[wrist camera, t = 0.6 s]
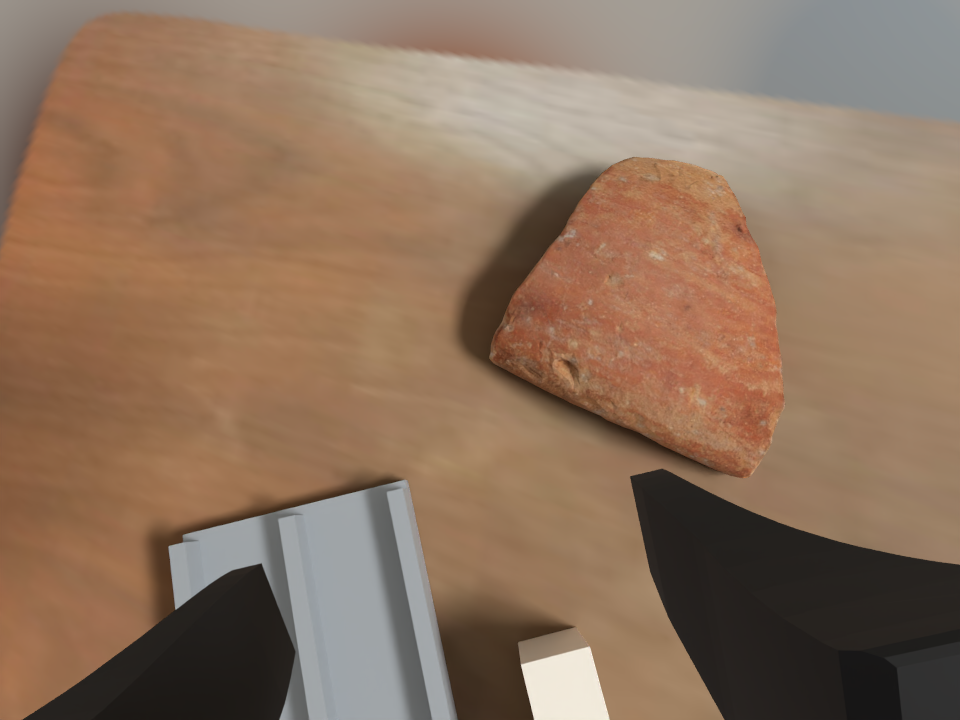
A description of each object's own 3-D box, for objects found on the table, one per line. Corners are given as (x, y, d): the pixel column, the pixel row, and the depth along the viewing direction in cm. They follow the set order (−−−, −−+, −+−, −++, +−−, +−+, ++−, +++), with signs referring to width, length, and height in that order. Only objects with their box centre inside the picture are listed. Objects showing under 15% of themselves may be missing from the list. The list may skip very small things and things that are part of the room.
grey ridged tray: (478, 819, 29) (477, 847, 27) (234, 884, 29) (209, 918, 26) (407, 481, 33) (400, 478, 30) (192, 534, 33) (167, 535, 30)
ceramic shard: (888, 216, 30) (759, 493, 30) (814, 247, 37) (706, 475, 36) (619, 82, 31) (482, 354, 30) (592, 137, 37) (479, 361, 36)
